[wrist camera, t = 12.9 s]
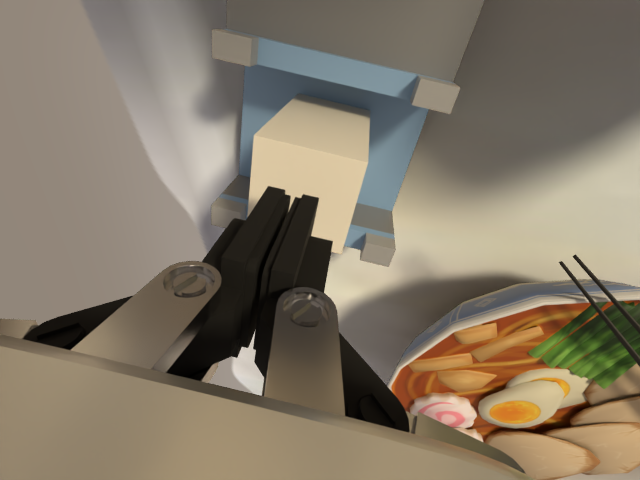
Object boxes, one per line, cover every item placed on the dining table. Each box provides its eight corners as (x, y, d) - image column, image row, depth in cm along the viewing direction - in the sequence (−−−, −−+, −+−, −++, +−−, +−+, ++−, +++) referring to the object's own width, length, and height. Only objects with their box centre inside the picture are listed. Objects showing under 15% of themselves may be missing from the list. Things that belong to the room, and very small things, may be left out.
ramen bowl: (312, 312, 29) (293, 402, 22) (599, 125, 18) (738, 189, 11) (475, 441, 36) (498, 538, 29) (746, 365, 25) (881, 490, 19)
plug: (298, 93, 18) (253, 135, 11) (370, 110, 18) (367, 162, 11) (288, 162, 20) (246, 231, 13) (352, 177, 20) (341, 254, 13)
